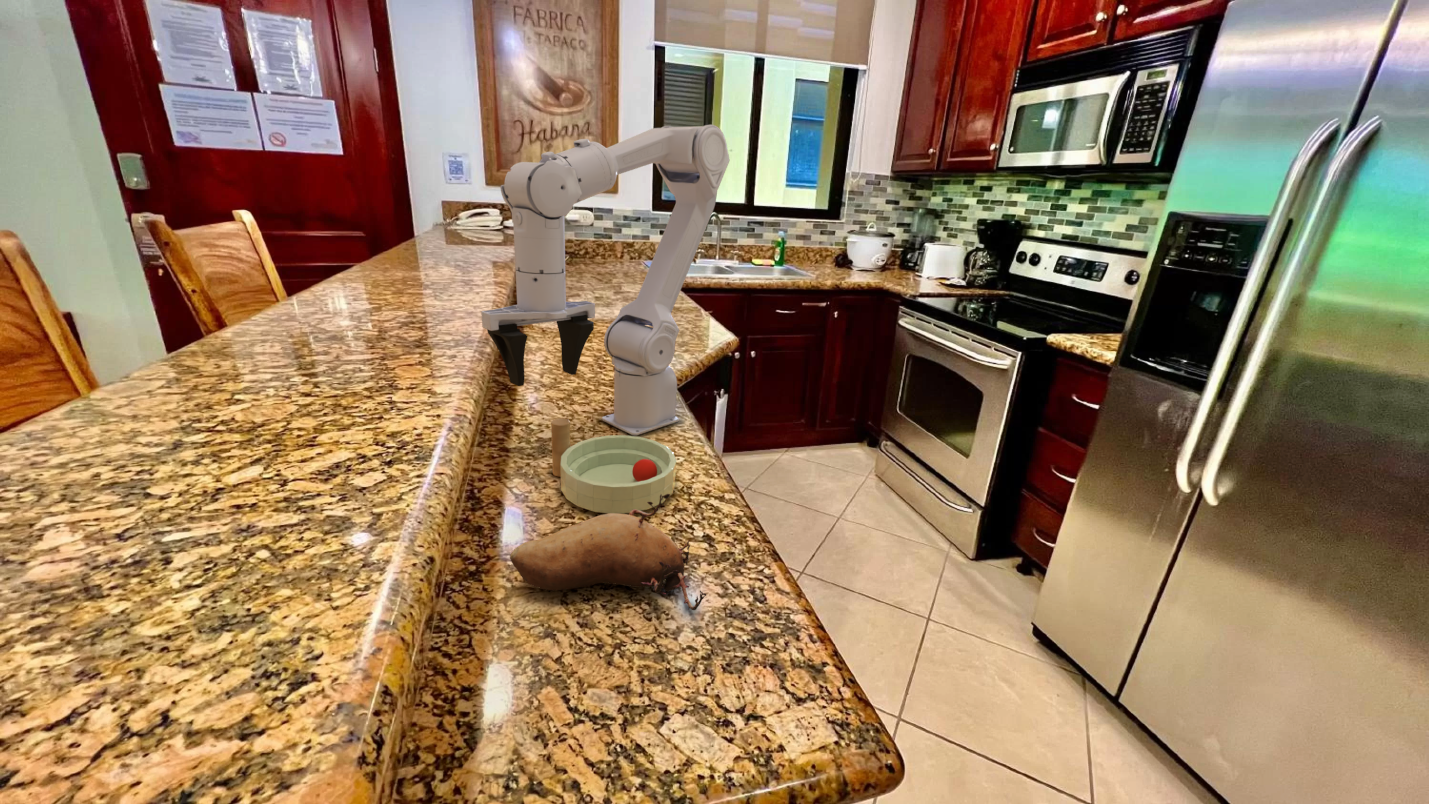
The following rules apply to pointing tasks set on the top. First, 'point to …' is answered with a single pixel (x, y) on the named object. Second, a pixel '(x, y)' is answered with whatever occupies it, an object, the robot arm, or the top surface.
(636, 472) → the ball
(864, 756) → the top surface
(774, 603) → the top surface
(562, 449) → the stick
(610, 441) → the bowl
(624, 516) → the vegetable
